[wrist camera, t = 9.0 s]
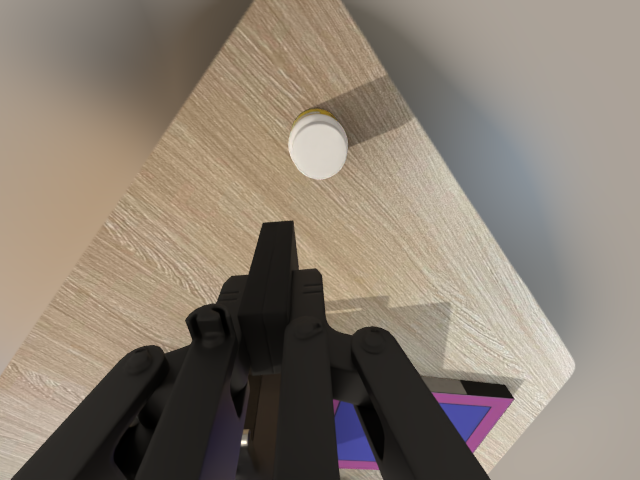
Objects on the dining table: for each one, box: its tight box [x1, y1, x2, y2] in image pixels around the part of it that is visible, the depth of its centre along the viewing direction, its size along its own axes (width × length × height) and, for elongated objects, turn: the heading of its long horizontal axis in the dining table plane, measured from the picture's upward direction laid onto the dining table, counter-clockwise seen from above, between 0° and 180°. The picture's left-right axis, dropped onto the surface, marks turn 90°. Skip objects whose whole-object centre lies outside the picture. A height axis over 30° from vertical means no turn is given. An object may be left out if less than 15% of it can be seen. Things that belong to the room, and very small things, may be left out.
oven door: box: [133, 368, 281, 480], centre depth 35 cm, size 5×24×18 cm, turn 95°
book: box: [333, 376, 514, 470], centre depth 50 cm, size 21×3×30 cm
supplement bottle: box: [288, 108, 348, 179], centre depth 26 cm, size 5×5×8 cm
